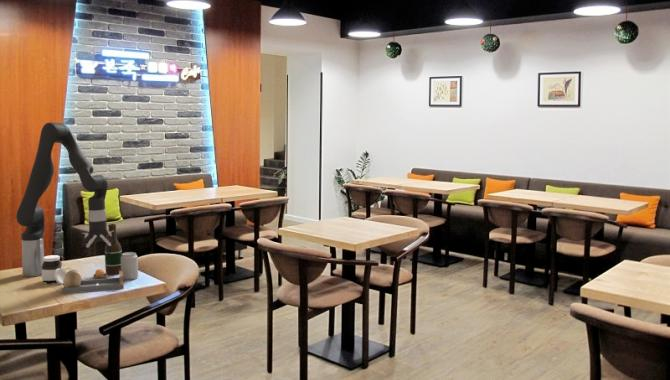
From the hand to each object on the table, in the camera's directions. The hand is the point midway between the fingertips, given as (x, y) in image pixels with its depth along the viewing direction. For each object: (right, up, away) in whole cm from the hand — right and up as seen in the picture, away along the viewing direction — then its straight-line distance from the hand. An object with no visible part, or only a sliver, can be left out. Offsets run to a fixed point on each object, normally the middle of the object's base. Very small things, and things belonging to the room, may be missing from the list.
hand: (99, 254), depth 285 cm
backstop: (+12, -13, -4) cm, 18 cm away
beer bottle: (+1, -11, +16) cm, 20 cm away
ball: (0, -9, +1) cm, 9 cm away
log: (-7, -14, -11) cm, 19 cm away
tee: (0, -13, +2) cm, 13 cm away
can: (+12, -12, +7) cm, 18 cm away
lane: (0, -14, -8) cm, 16 cm away
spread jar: (-20, -13, +1) cm, 24 cm away
